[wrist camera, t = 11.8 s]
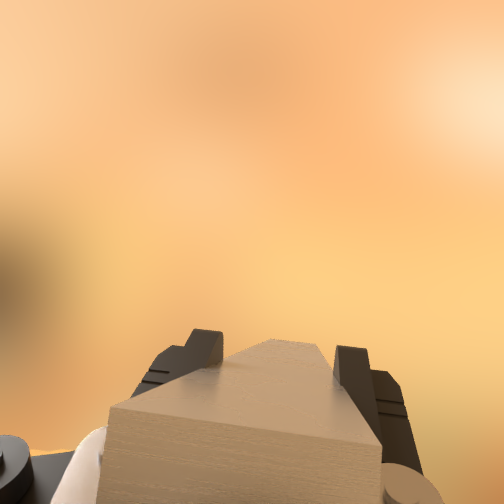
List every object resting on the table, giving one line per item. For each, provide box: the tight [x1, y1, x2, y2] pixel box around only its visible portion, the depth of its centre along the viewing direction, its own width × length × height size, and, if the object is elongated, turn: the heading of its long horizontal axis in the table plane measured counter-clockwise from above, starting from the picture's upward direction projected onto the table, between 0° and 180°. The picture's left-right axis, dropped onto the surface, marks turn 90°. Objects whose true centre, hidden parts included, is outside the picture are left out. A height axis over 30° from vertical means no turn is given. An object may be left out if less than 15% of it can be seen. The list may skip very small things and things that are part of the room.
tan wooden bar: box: [95, 339, 382, 504], centre depth 16 cm, size 24×3×3 cm, turn 173°
